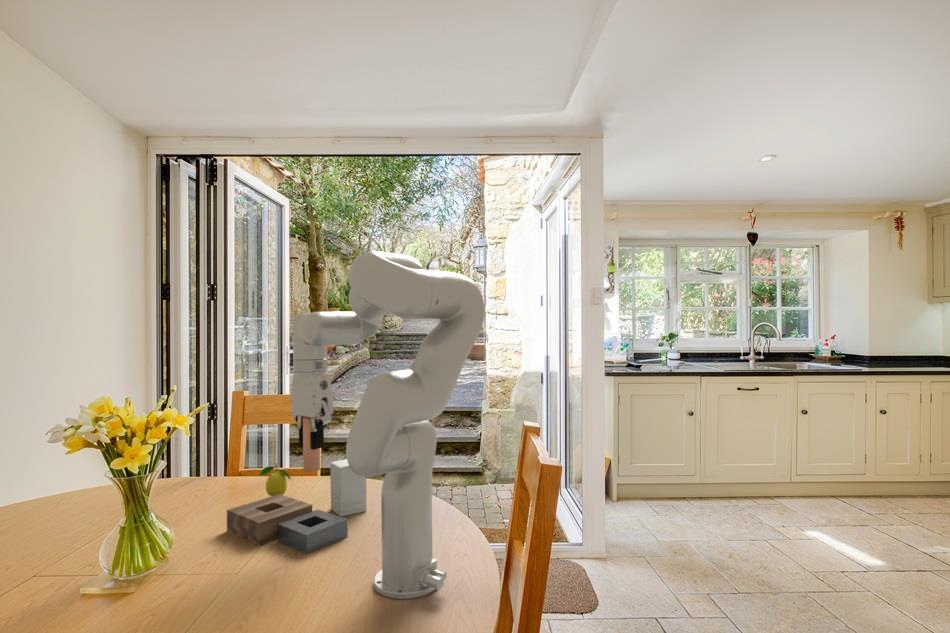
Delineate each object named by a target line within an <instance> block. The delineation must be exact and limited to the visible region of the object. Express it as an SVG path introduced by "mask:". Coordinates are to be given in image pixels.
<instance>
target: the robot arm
mask: <svg viewBox="0 0 950 633" xmlns="http://www.w3.org/2000/svg"><path fill="white" fill-rule="evenodd" d="M348 272H349V273H348V280H349V285H350V289H349V292H348V297H347V298H348V303H349V306H350V308H351V310H352V311H345V310H343V311H340V310H339V311H338V310H337V311H313V312H305V313H297V314H295V315H294V316H293V318H292V365H293V366H292V370H293V371H292V374H293V375H292V381H291V395H290V398H291V400H290V406H291V407H290V408H291V413H290V414H291V416H292V418H293V419H294V420H295V422H296V427H297V428H296V429H298V447H299V448H303V417H309V418H311V423H312V432H310V446H311V449H312V450H314V449H318V448H320V449H321V448H324V446H325V444H324V443H325V442H324V441H325V437H324V435H325V433H324V430H326V426H327V425H328V423H330V422H331V421H332V420H333V417H332V415H333V414H334V396H333V386H332V380H331V376H330V373H329V372H328V347H329V346H331V347H332V346H342V345H343V346H344V345H345V346H346V345H347V346H349V345H355V344H356V345H357V344H360V343H361V342H363V341H365V340H367V339H369V338H370V337H372V336H373V335H375V334H376V333H378V331H379V330H380V329H381V327H382V325H383V321H384V316H385V315H387V314H388V313H389V314H391V315H392V316H395V317H397V318H400V319H404V320H439V322H438V323H437V324H436V326H435V327H434V328H432V330H430V331H429V333H428V334H427V335H426V336H425V337H424V339H423V340H422V342H421V343H420V346H419V348H418V351H417V353H416V356H415V358H414V360H413V362H412V363H411V364H410V366H409V367H408V368H406V369H401V370H391V371H387V372H382V373H381V374H378V375H377V376H375V377H374V378H373V379H372V380H371V381H370V382H369V384H368V385H367V386H366V388H365V390H364V392H363V395H362V396H361V400H360V402H359V405H358V407H357V411H356V413H355V415H354V416H355V417H354V420H352V423H351V427H350V430H349V433H348V436H347V440H346V445H345V455H346V459H347V461H348V464H349V466H350V468H351V469H352V470H353V472H355V473H356V474H358V475H360V476H363V477H366V478H372V477H377V476H381V475H384V478H383V481H382V482H383V483H382V487H381V493H380V494H381V500H380V501H381V504H380V506H381V507H380V508H381V510H380V511H381V565H382V566H381V570H379V571H377V573H376V574H375V575H374V577H373V587H374V590H375V591H376V592H377V593H379V594H380V595H381V596H383V597H387V598H392V599H398V600H409V599H415V598H419V597H423V596H426V595H428V594H430V593H432V592H434V591H435V590H438V591H440V590H441V589H443V586H444V584H445V581H446V579H447V572H444V571H442V570H439V569H438V560H437V559H436V558H433V556H434V555H433V470H434V462H435V457H436V451H437V440H438V439H437V433H436V432H437V431H436V429H435V427H434V425H433V423H432V422H431V421H430V420H432V419H436V417H438V416H440V415H441V414H442V413H443V412H444V410H445V408H446V406H447V404H448V402H449V400H450V397H451V395H452V393H453V391H454V388H455V386H456V384H457V381H458V379H459V377H460V375H461V372H462V370H463V368H464V366H465V362H466V360H467V358H468V357H469V354H470V352H471V351H472V349H473V347H474V345H475V344H476V341H477V340H478V337H479V335H480V334H481V331H482V328H483V325H484V319H485V315H486V314H485V301H484V297H483V294H482V291H481V289H480V288H479V286H478V285H477V283H476V282H475V281H474V280H473V279H471V278H469V277H468V276H466V275H464V274H460V273H457V272H452V271H443V270H430V269H427V270H426V269H425V268H424V267H423V265H422V264H421V263H420V262H419V261H418V259H416V258H415V257H412V256H411V255H408V254H403V253H395V252H385V251H377V250H370V251H365V252H363V253H360V254H359V255H358V256H357V257H356V258H354V261H353V262H352V264H351V265H350V268H349V271H348ZM318 416H319V417H318ZM316 420H319V421H318V423H317V422H316Z"/></svg>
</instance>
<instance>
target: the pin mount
mask: <svg viewBox="0 0 950 633" xmlns="http://www.w3.org/2000/svg"><path fill="white" fill-rule="evenodd" d="M348 529H349V528H348V518H345V517H343V516H339V515H335V514H332V513H329V512H327V511H324V510H320V509H315V510H312V512H309V513H307V514H304V515H301V516H298V517H295V518H292V519H289V520H287V521H284V522H281V523H278V524H277V539H276V540H277V542H278V543H280V544H282V545H285V546H287V547H289V548H292V549H294V550H297V551H299V552H301V553H304V554H307V555H308V554H310V553H312V552H315V551H317V550H319V549H322V548H325V547H326V546H329V545H331V544H333V543H336V542H339V541H340V540H343V539H345V538H348V536H349V534H348Z"/></svg>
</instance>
